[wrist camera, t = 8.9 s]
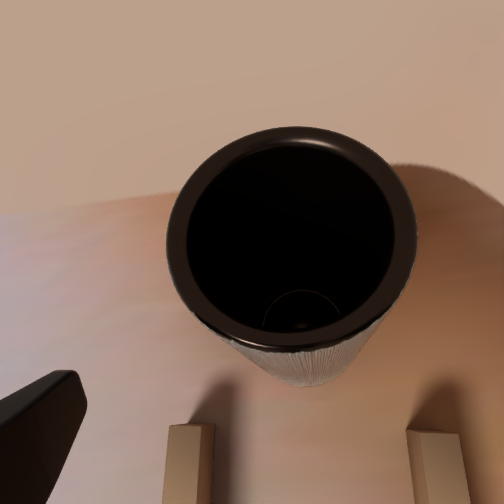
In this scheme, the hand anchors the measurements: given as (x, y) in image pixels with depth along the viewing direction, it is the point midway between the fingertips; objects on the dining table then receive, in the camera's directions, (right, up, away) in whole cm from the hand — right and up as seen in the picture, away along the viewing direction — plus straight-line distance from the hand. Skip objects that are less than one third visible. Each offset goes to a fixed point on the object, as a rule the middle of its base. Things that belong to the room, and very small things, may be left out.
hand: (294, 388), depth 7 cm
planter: (+1, -1, +9) cm, 9 cm away
